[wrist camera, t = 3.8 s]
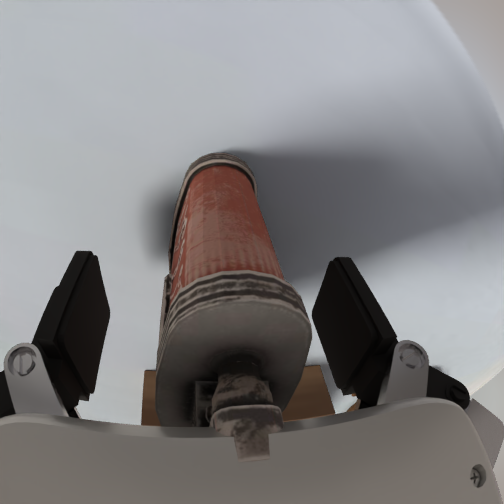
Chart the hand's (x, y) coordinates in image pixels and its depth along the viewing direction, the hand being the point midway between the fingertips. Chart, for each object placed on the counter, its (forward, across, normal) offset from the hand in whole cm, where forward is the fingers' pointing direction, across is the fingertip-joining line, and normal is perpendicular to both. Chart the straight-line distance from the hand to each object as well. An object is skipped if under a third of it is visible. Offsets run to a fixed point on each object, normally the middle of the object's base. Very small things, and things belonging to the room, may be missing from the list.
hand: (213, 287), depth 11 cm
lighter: (+3, 0, 0) cm, 3 cm away
